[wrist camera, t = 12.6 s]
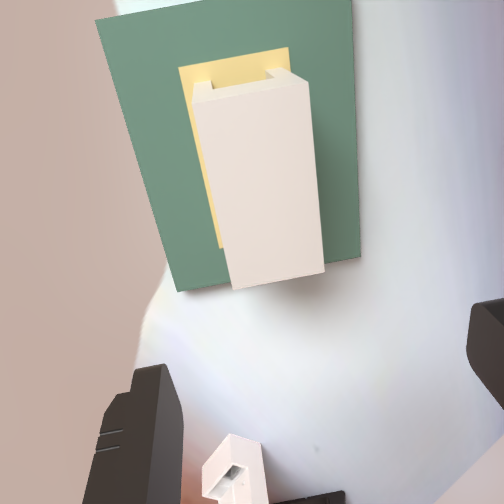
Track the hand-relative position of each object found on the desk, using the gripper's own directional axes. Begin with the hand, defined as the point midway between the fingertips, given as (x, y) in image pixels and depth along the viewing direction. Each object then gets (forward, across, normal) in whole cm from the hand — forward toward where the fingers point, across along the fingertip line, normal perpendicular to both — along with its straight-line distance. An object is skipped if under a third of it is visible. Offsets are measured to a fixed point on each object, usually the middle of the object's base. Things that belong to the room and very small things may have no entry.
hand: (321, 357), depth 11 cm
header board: (+20, 0, 0) cm, 20 cm away
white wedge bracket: (+20, +7, +31) cm, 38 cm away
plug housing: (+18, 0, 0) cm, 18 cm away
